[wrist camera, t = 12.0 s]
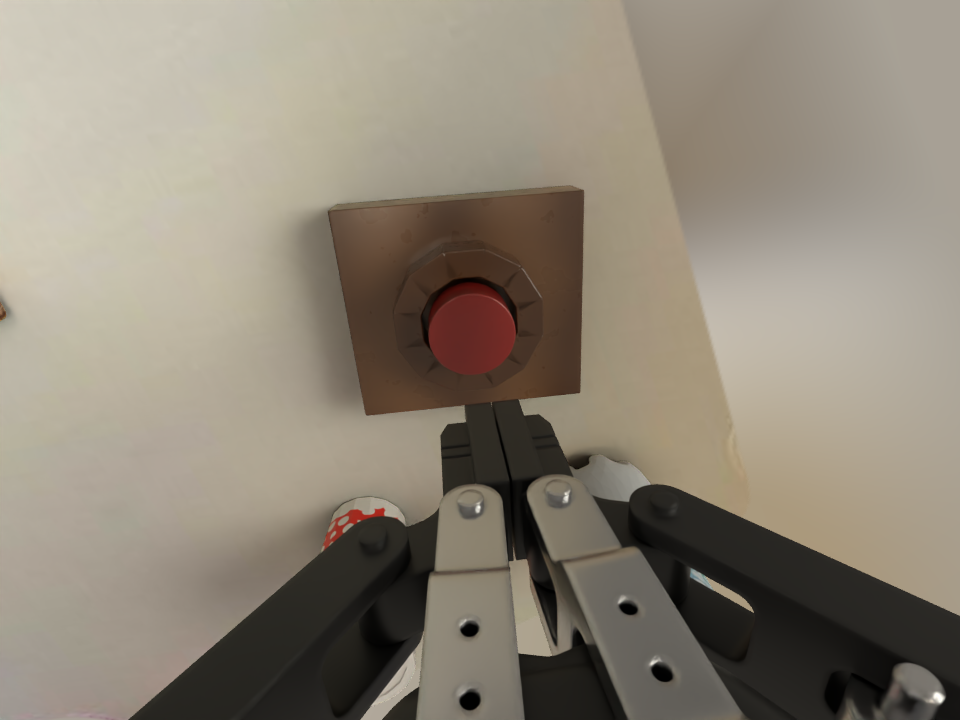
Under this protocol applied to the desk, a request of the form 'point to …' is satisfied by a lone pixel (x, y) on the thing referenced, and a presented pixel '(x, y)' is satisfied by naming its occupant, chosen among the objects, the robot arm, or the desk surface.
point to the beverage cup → (339, 525)
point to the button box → (453, 260)
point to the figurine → (2, 312)
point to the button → (470, 329)
